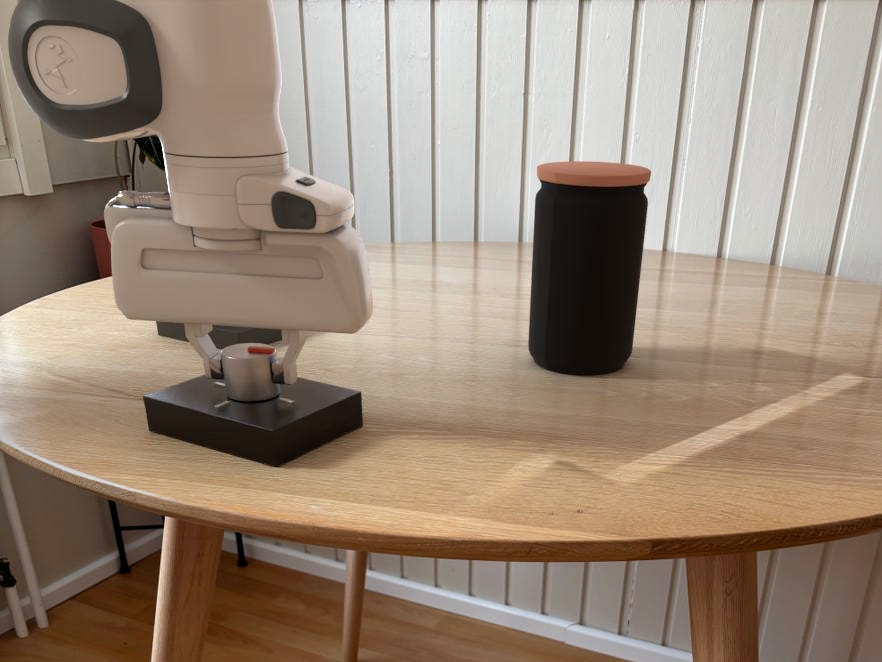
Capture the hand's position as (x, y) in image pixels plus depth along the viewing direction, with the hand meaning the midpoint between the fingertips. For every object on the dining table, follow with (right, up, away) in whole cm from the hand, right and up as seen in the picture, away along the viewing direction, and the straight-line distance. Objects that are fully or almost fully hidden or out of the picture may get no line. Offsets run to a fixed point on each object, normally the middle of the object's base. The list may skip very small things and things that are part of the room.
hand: (252, 380), depth 77 cm
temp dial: (0, -1, +1) cm, 1 cm away
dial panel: (0, -3, +2) cm, 4 cm away
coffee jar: (+29, +7, +20) cm, 36 cm away
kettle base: (-9, +12, +26) cm, 30 cm away
